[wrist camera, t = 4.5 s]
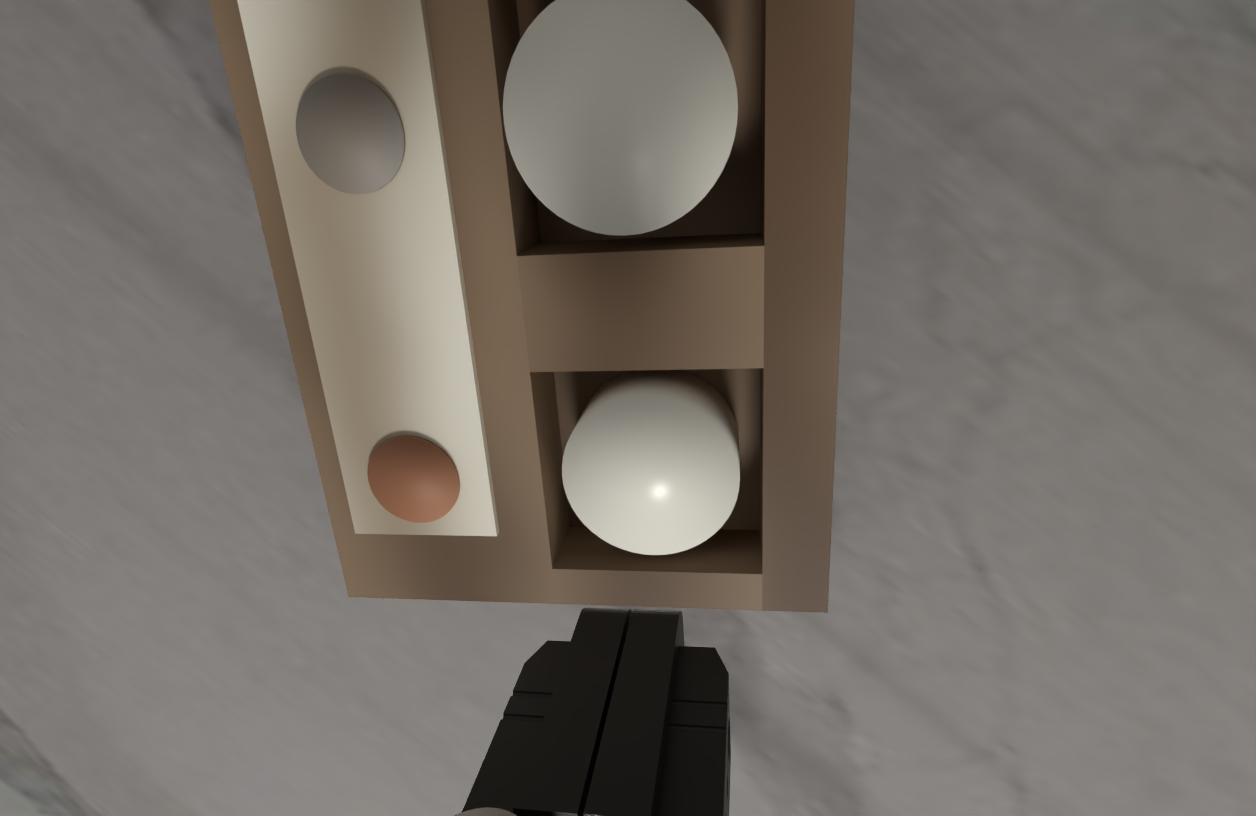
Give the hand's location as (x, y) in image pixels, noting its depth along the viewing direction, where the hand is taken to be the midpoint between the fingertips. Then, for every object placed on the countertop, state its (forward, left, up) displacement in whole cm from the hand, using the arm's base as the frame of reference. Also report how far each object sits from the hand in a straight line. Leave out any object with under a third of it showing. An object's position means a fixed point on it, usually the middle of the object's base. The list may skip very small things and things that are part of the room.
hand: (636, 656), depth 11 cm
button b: (0, -8, -6) cm, 10 cm away
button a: (0, 0, -7) cm, 8 cm away
